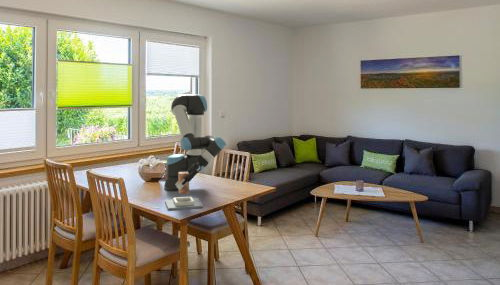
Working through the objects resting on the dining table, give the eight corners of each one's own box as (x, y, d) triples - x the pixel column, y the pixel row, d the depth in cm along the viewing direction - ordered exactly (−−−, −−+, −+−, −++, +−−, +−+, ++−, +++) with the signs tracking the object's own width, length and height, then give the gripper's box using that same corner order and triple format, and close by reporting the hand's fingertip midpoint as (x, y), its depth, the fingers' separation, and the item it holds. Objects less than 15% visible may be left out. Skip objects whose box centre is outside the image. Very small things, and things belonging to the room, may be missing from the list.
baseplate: (168, 210, 228) (168, 204, 228) (164, 201, 245) (164, 196, 245) (203, 207, 234) (203, 202, 234) (197, 199, 251) (197, 194, 251)
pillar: (179, 194, 235) (179, 173, 233) (178, 191, 240) (178, 172, 238) (189, 193, 236) (189, 173, 235) (187, 191, 242) (187, 171, 240)
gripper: (212, 165, 232) (184, 195, 229) (206, 160, 249) (179, 187, 246) (203, 156, 230) (174, 186, 227) (197, 152, 247) (170, 179, 244)
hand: (177, 187), depth 237 cm, fingers closed on pillar, 5 cm apart
